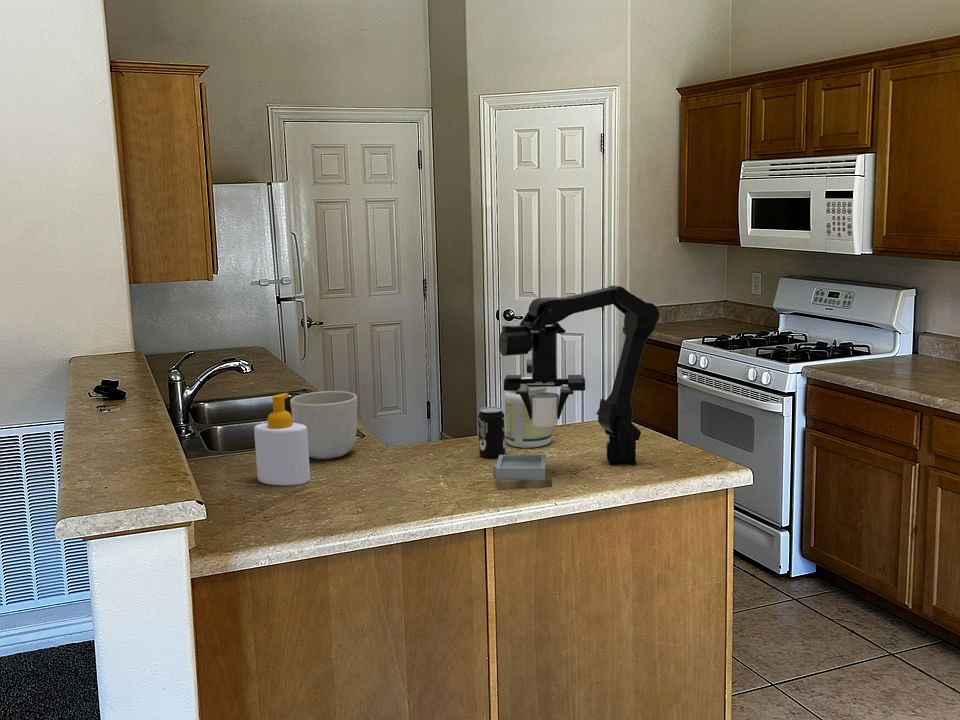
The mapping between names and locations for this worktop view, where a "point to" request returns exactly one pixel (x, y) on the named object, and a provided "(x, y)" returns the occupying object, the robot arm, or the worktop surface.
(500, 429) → the beverage can
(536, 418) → the shot glass
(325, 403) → the planter
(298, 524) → the worktop surface
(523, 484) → the slab bottom
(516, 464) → the slab top
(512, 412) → the supplement tub
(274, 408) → the soap bottle
